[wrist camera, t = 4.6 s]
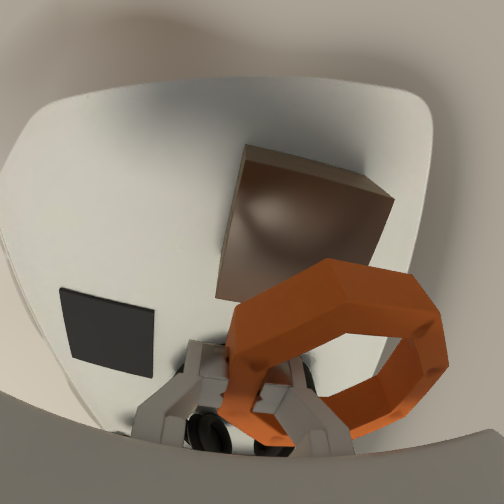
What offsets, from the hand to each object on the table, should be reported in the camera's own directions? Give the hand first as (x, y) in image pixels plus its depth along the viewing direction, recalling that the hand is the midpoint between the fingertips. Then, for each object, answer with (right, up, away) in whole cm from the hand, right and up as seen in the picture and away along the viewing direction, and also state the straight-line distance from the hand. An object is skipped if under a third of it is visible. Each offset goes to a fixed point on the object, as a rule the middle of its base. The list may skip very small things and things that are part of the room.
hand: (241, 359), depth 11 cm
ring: (+4, 0, +1) cm, 4 cm away
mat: (-16, -6, +21) cm, 27 cm away
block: (+4, +7, +15) cm, 17 cm away
